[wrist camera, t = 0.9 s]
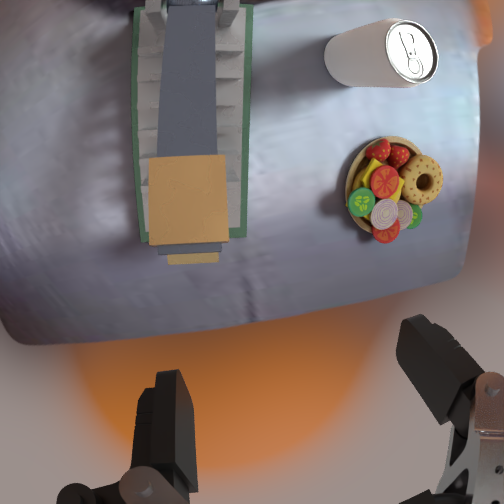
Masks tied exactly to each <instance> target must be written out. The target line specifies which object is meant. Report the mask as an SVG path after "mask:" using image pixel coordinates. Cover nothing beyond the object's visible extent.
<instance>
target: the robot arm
mask: <svg viewBox="0 0 504 504" xmlns="http://www.w3.org/2000/svg"><path fill="white" fill-rule="evenodd" d="M396 356H397V361H398V363H399V365H400V366H401V368H402V369H403V371H404V372H405V374H406V375H407V376H408V378H409V379H410V381H411V382H412V384H413V385H414V387H415V388H416V390H417V391H418V393H419V394H420V396H421V397H422V399H423V400H424V402H425V403H426V405H427V406H428V407H429V409H430V411H431V412H432V414H433V415H434V417H435V418H436V420H437V421H438V423H439V424H440V425H442V424H444V423H446V422H448V421H451V422H452V423H453V425H452V427H451V432H450V440H449V446H448V452H447V458H446V464H445V469H444V473H443V475H442V477H441V479H440V481H439V484H438V486H437V489H436V493H435V494H431V492H430V490H429V489H428V490H426V491H424V492H422V493H420V494H418V495H416V496H414V497H412V498H410V499H408V500H405V501H403V502H401V503H399V504H504V377H503V376H502V375H500V374H499V373H496V372H485V371H484V370H483V369H482V368H481V367H480V366H479V365H478V364H477V363H476V361H475V360H474V359H473V358H472V357H471V356H470V355H469V353H468V352H467V351H466V350H465V349H464V348H463V347H461V345H460V344H459V342H458V341H457V340H454V337H453V336H452V335H451V334H450V333H449V332H448V331H447V330H446V329H445V328H443V327H441V326H439V325H437V324H436V323H434V324H431V323H430V321H429V320H428V319H427V318H426V317H425V316H424V315H422V314H419V315H416V316H413V317H410V318H407V319H404V320H403V321H402V323H401V327H400V332H399V337H398V342H397V347H396ZM135 424H136V426H135V430H134V439H133V449H132V460H131V466H130V469H129V470H128V471H127V472H126V473H125V474H124V475H123V476H122V478H121V480H120V481H118V482H116V483H114V484H111V485H107V486H103V487H99V488H95V489H90V488H89V487H87V486H85V485H83V484H80V483H73V484H69V485H67V486H65V487H64V488H63V489H62V490H61V491H60V493H59V494H58V497H57V503H56V504H190V500H189V493H195V492H198V481H197V465H196V448H195V425H194V408H193V403H192V399H191V396H190V394H189V391H188V389H187V387H186V384H185V382H184V379H183V377H182V374H181V372H180V370H179V369H177V370H169V371H162V372H157V374H156V382H155V387H154V388H146V389H145V390H144V392H143V393H142V395H141V396H140V398H139V400H138V405H137V416H136V422H135Z"/></svg>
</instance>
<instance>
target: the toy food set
mask: <svg viewBox="0 0 504 504" xmlns="http://www.w3.org/2000/svg"><path fill="white" fill-rule="evenodd" d="M442 184H443V174H442V170H441V168H440V166H439V164H438V163H437V162H436V161H435V160H434V159H432V158H431V157H429V156H426V155H422V153H421V151H420V150H419V149H418V147H417V146H416V145H415V144H413V143H412V142H410V141H409V140H407V139H405V138H402V137H397V136H387V137H382V138H379V139H377V140H375V141H373V142H371V143H370V144H368V145H367V146H366V147H364V148H363V149H362V150H361V151H360V153H359V154H358V155H357V156H356V158H355V159H354V161H353V163H352V165H351V167H350V169H349V172H348V175H347V179H346V186H345V197H346V205H345V206H346V207H348V210H349V212H350V214H351V216H352V218H353V219H354V221H355V222H356V223H357V224H358V225H359V226H360V227H361V228H362V229H364V230H365V231H367V232H370V233H373V236H374V238H375V239H376V240H377V241H379V242H380V243H389V242H392V241H393V240H394V239H395V238H396V237H397V236H398V234H399V231H400V230H403V229H405V228H408V229H413V228H415V227H417V226H418V225H419V224H420V222H421V220H422V211H421V208H422V206H423V204H427V203H429V202H431V201H432V200H434V199H435V198H436V196H437V195H438V194H439V192H440V190H441V187H442Z"/></svg>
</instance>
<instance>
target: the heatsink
mask: <svg viewBox="0 0 504 504" xmlns="http://www.w3.org/2000/svg"><path fill="white" fill-rule="evenodd" d="M166 6H167V2H166V0H146V4H145V7H136V8H134V19H133V35H132V60H131V119H132V145H133V163H134V177H135V190H136V201H137V211H138V220H139V229H140V238H141V242H149V209H148V182H149V158H156V157H157V135H158V113H159V97H160V83H161V71H162V60H163V50H164V41H165V32H166V24H167V16H168V14H167V7H166ZM252 31H253V5H249V4H239V0H220V2H219V3H218V9H217V13H215V61H216V118H217V153H218V155H225V163H226V186H227V207H228V227H229V238H238V237H246V233H247V194H248V158H249V124H250V91H251V60H252ZM167 257H168V265H172V264H191V263H210V262H219V256H218V252H213V253H193V254H174V255H167Z"/></svg>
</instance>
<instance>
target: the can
mask: <svg viewBox="0 0 504 504" xmlns="http://www.w3.org/2000/svg"><path fill="white" fill-rule="evenodd" d="M324 61H325V65H326V67H327V70H328V71H329V73H330V74H331V76H332V77H333V78H334V79H335V80H337V81H338V82H339V83H341V84H343V85H346V86H350V87H391V88H410V87H415V86H417V85H419V84H422V83H425V82H427V81H429V80H430V79H431V78H432V77H433V76H434V74H435V72H436V70H437V66H438V52H437V48H436V45H435V43H434V41H433V39H432V37H431V36H430V34H429V33H428V32H427V31H426V30H425V29H424V28H423V27H422V26H421V25H419V24H417V23H415V22H413V21H409V20H401V19H395V18H392V19H386V20H382V21H378V22H375V23H371V24H368V25H365V26H362V27H358V28H355V29H353V30H350V31H347V32H344V33H341V34H339V35H336V36H335V37H333V38H332V39H331V40H330V41H329V42H328V43H327V45H326V48H325V51H324Z"/></svg>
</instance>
